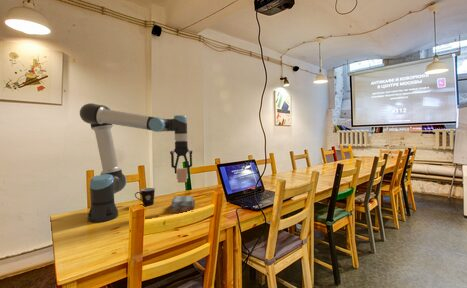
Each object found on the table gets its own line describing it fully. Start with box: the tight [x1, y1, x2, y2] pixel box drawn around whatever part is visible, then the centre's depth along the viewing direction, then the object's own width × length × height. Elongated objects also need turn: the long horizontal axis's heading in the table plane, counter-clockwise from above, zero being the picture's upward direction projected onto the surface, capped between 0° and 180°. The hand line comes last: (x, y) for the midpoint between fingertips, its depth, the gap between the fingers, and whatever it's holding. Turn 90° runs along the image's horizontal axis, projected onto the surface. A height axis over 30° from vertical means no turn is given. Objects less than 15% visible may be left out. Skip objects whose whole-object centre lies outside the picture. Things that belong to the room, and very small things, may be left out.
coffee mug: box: [134, 187, 156, 207], centre depth 161 cm, size 12×9×10 cm
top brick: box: [176, 167, 188, 184], centre depth 150 cm, size 5×5×8 cm
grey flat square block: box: [169, 195, 196, 213], centre depth 151 cm, size 14×14×6 cm
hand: (182, 178), depth 151 cm, fingers closed on top brick, 5 cm apart
